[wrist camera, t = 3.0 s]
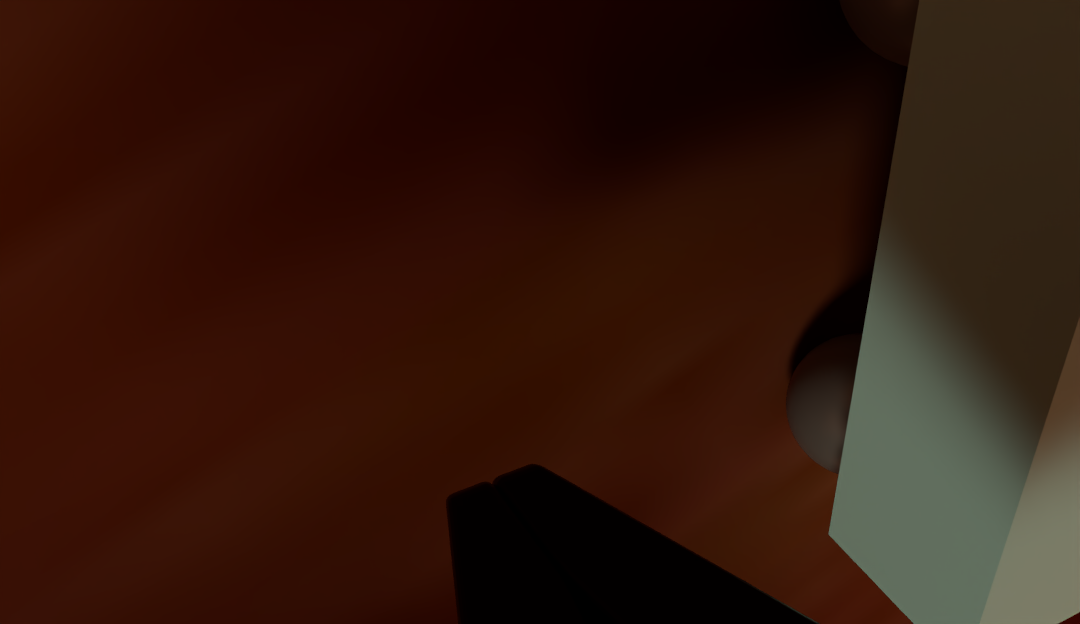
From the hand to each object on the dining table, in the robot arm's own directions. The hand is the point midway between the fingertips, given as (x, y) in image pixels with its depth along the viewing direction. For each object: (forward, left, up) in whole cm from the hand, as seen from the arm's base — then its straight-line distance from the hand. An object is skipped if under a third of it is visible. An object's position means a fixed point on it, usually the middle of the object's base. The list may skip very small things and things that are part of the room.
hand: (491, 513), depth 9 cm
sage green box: (0, -10, -3) cm, 10 cm away
